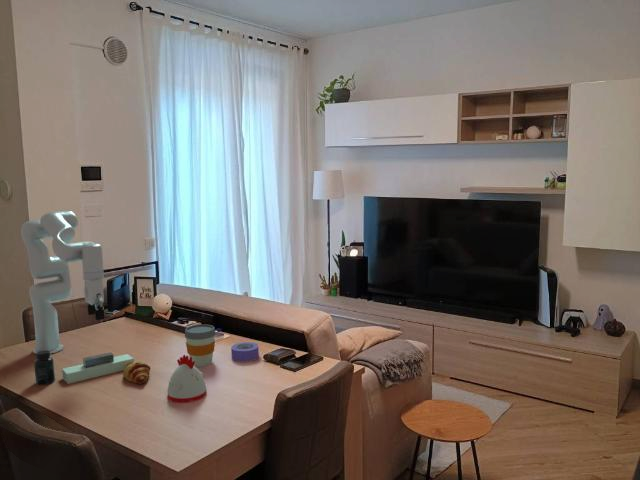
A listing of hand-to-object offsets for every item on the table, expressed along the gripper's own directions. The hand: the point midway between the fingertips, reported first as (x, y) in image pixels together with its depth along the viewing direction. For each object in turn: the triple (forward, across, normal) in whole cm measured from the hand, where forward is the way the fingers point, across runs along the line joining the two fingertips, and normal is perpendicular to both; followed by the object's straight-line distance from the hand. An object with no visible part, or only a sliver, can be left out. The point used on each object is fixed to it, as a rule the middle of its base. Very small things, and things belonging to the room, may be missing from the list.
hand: (96, 316), depth 220 cm
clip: (+23, 0, 0) cm, 23 cm away
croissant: (+24, +15, +10) cm, 30 cm away
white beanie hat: (+23, +43, +18) cm, 52 cm away
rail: (+23, +1, 0) cm, 23 cm away
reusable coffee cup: (+23, +17, +37) cm, 47 cm away
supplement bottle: (+24, -4, -20) cm, 31 cm away
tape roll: (+24, +23, +55) cm, 64 cm away
